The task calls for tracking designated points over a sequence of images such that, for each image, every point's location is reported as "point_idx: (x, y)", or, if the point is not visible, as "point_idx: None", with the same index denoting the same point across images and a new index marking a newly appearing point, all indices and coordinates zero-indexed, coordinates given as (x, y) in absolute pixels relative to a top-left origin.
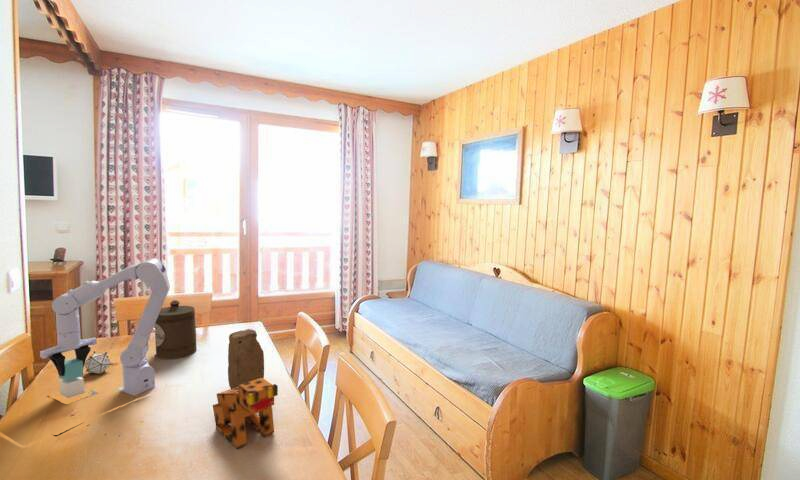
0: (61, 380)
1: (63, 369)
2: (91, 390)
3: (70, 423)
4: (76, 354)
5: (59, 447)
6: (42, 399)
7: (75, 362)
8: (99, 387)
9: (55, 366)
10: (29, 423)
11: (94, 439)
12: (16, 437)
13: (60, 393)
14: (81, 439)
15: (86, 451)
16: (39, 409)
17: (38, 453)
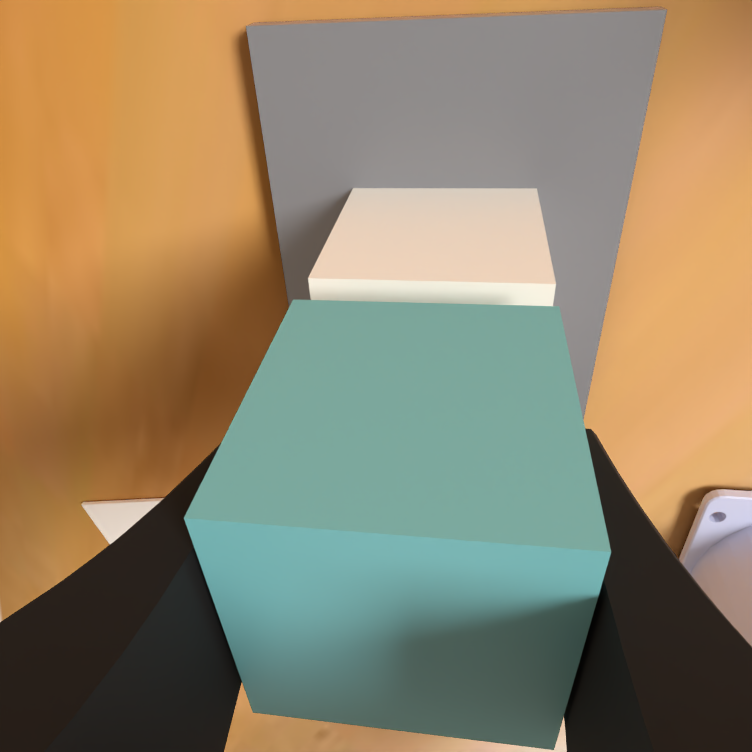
0: (331, 291)
1: None
2: (591, 346)
3: None
4: (627, 733)
5: None
6: (213, 33)
7: (428, 726)
8: (718, 288)
9: (138, 523)
10: (78, 431)
11: (277, 729)
12: (20, 513)
13: (348, 204)
14: (243, 702)
15: (230, 748)
16: (152, 276)
17: None
